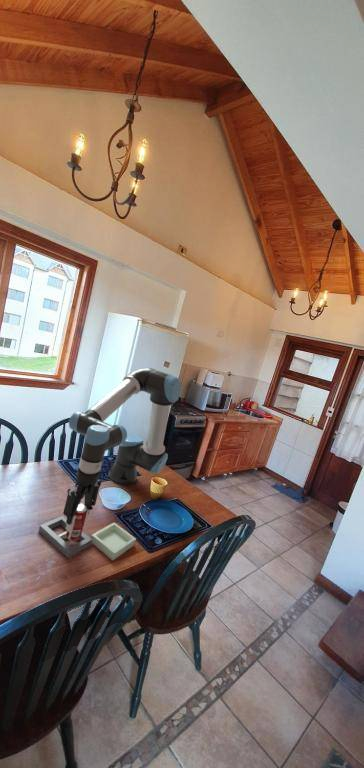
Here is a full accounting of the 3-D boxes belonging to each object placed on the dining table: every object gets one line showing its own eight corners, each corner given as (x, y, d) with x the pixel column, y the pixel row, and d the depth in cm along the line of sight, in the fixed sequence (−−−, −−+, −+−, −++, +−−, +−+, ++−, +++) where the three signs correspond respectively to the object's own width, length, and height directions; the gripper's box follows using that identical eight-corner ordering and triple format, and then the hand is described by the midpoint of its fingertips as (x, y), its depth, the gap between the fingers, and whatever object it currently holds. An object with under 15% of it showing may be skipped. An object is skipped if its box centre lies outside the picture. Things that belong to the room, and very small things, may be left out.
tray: (89, 541, 115) (91, 534, 115) (112, 528, 126) (114, 522, 125) (112, 560, 110) (114, 553, 109) (134, 545, 120) (136, 538, 119)
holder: (38, 531, 113) (39, 525, 113) (61, 520, 122) (62, 515, 121) (68, 558, 105) (69, 552, 105) (90, 545, 114) (92, 539, 113)
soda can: (68, 530, 114) (74, 501, 112) (82, 532, 114) (89, 504, 112) (64, 539, 109) (70, 510, 107) (78, 542, 109) (85, 513, 107)
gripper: (75, 481, 97) (60, 544, 101) (115, 467, 113) (101, 522, 117) (60, 470, 101) (46, 532, 105) (101, 458, 117) (88, 512, 121)
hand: (75, 527), depth 111 cm, fingers closed on soda can, 5 cm apart
